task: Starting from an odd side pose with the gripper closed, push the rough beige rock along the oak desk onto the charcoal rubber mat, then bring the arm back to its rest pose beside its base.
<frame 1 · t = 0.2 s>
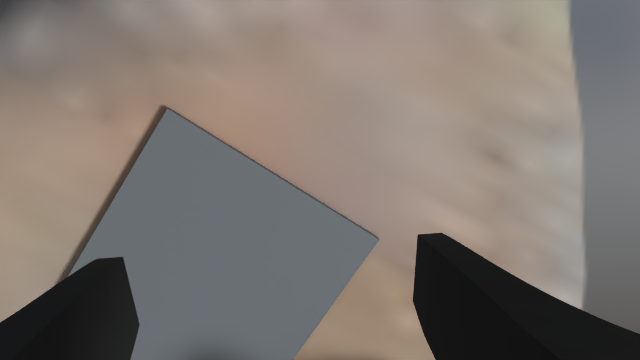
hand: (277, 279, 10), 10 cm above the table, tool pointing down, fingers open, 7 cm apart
charcoal mat: (176, 333, 22), on the table
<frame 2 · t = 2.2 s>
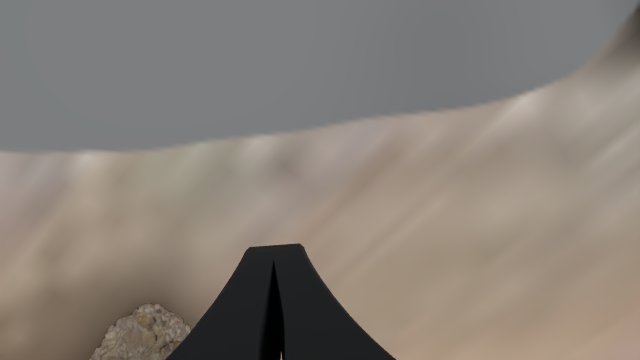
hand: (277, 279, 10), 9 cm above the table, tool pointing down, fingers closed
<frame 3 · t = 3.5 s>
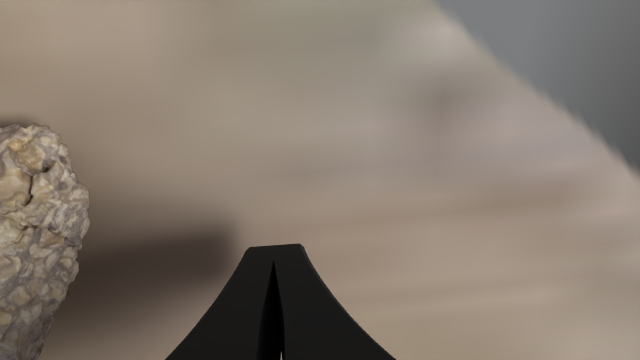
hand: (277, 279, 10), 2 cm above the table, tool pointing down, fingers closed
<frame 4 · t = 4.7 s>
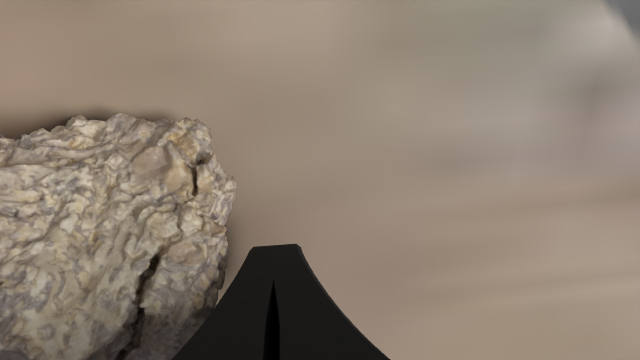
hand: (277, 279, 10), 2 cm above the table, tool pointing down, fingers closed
rough beige rock: (4, 264, 12), on the table, touching gripper
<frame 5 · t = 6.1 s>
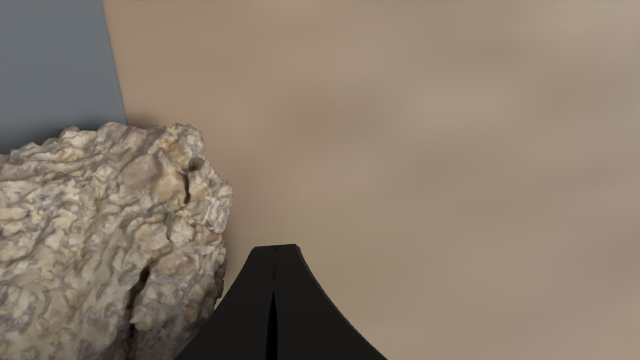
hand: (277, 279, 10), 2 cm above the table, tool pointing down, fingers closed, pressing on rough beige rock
rough beige rock: (12, 277, 12), resting on charcoal mat, touching gripper
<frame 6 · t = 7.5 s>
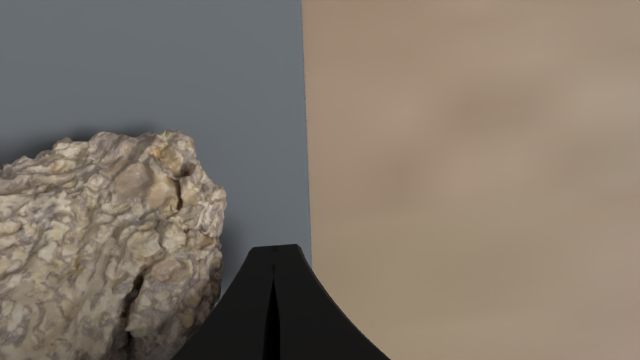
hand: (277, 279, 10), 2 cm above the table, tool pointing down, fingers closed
rough beige rock: (17, 290, 12), resting on charcoal mat, touching gripper
charcoal mat: (96, 253, 12), on the table
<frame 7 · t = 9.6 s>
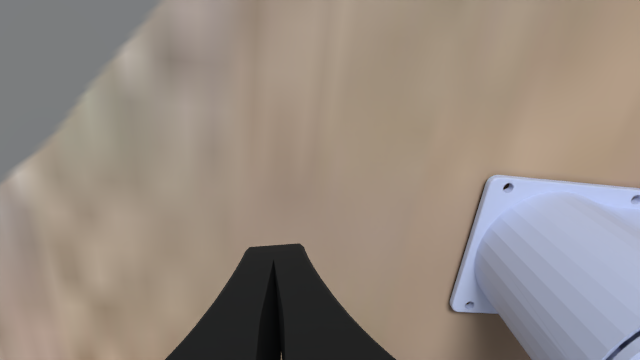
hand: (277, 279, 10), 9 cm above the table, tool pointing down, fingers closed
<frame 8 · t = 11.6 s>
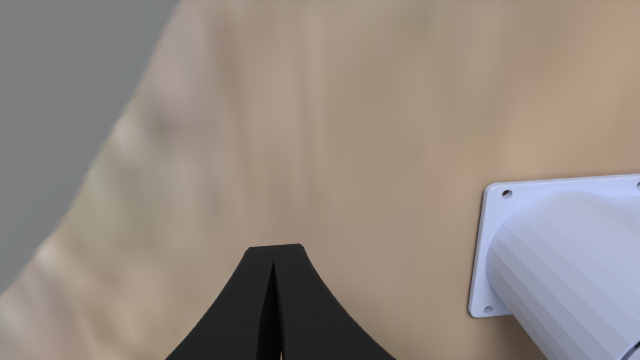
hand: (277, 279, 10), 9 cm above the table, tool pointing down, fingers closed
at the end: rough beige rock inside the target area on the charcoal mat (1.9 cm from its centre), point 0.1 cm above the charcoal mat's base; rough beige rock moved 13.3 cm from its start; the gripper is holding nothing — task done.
